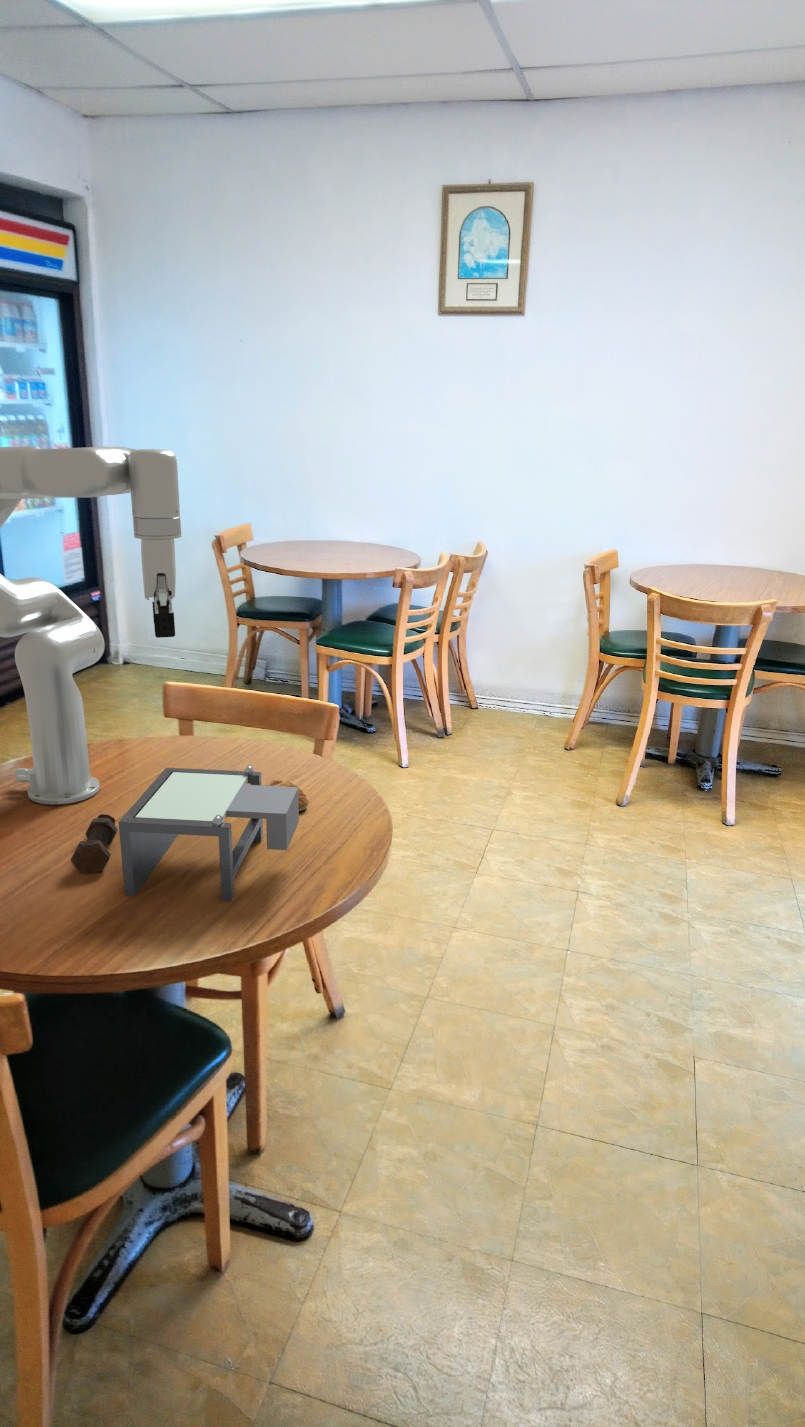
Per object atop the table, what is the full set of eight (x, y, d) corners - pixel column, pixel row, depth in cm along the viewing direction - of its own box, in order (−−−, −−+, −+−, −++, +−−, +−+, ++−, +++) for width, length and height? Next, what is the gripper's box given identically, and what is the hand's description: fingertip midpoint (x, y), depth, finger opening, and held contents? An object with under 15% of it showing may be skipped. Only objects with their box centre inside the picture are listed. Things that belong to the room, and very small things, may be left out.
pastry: (317, 808, 159) (317, 789, 158) (288, 819, 155) (288, 799, 154) (286, 793, 166) (285, 774, 164) (257, 803, 161) (256, 784, 160)
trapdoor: (138, 854, 128) (135, 817, 126) (175, 805, 144) (173, 772, 142) (281, 861, 126) (281, 824, 125) (302, 812, 143) (302, 778, 141)
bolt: (112, 841, 149) (96, 881, 135) (84, 828, 147) (65, 868, 133) (127, 813, 148) (113, 851, 134) (99, 800, 146) (82, 837, 132)
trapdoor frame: (124, 895, 128) (117, 814, 124) (170, 832, 148) (165, 760, 144) (231, 901, 127) (228, 819, 123) (263, 837, 147) (260, 765, 143)
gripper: (133, 522, 149) (140, 620, 154) (133, 534, 133) (141, 643, 138) (178, 522, 151) (184, 619, 156) (183, 533, 135) (190, 641, 140)
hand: (164, 630), depth 147 cm, fingers open, 9 cm apart
